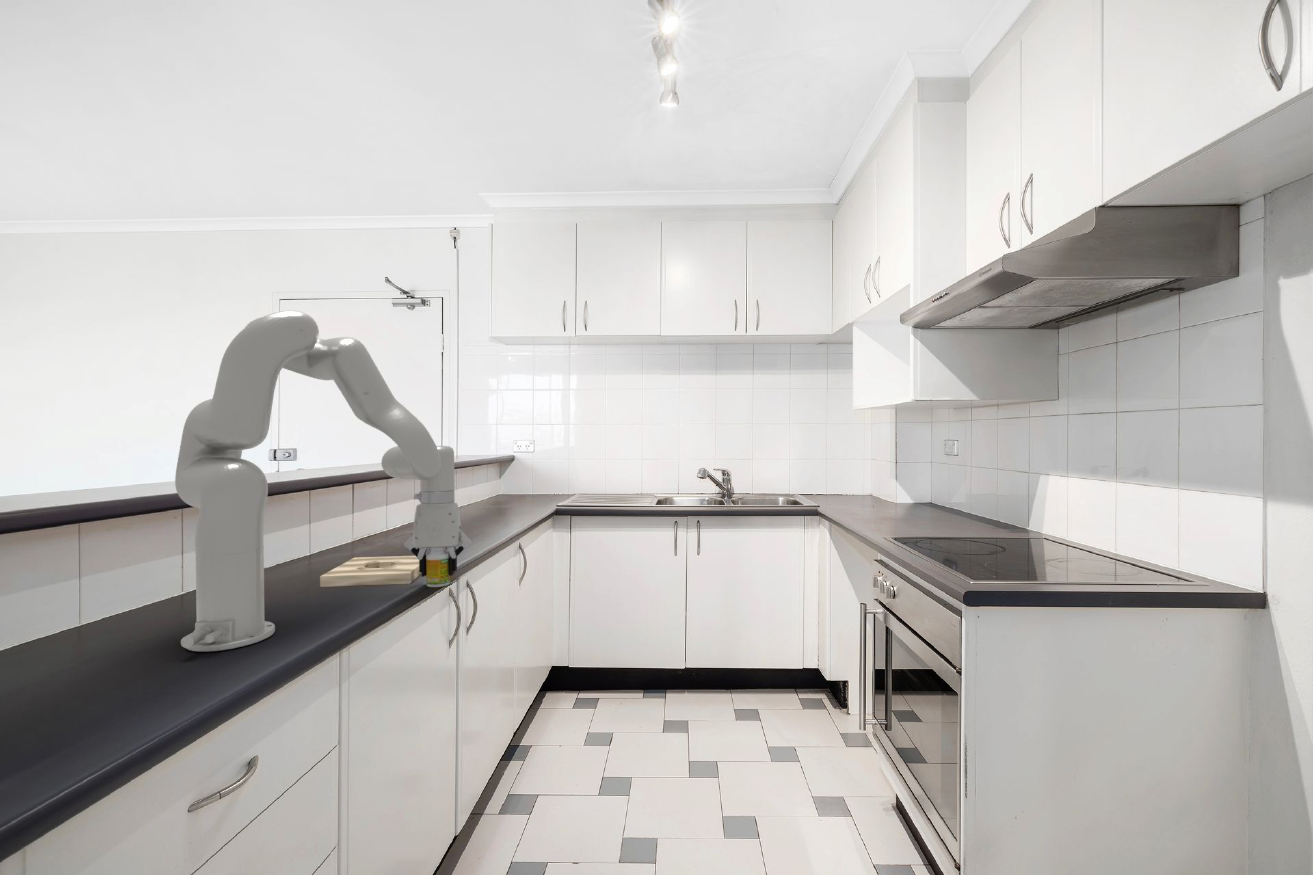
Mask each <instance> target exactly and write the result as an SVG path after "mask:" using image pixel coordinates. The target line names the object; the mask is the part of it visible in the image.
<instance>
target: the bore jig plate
mask: <svg viewBox="0 0 1313 875" xmlns="http://www.w3.org/2000/svg"><path fill="white" fill-rule="evenodd" d="M420 575H422V572H419V559H418V558H417V557H416V556H415V555H401V556H399V555H398V556H397V555H396V556H394V555H392V556H368V557H367V556H366V557H365V556H362V557H361V556H360V557H353V558H350V559H349V560H347V561H346V562H344V563H342V564H340V565H338V566H337V567H335V568H333V569H331V570H329V571H327V572H325V573H323V574H322V575H320V576H319V579H320V580H319V586H320V587H321V588H326V587H327V588H328V587H330V588H331V587H355V586H356V587H357V586H379V585H381V586H382V585H383V586H384V585H406V584H408V585H410V584H411V583H413V582H414V580H416V579H417V578H418V577H419V576H420Z"/></svg>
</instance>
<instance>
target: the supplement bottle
mask: <svg viewBox="0 0 1313 875" xmlns="http://www.w3.org/2000/svg"><path fill="white" fill-rule="evenodd" d="M428 550H429V552H428V553H426V576H425V584H426V586H427V588H428V587H429V588H443V587H446V586H448V585H450V584H451V577H452V576H450V575H449V559H450V553H449V551H447V550H448V547H444V548H428Z"/></svg>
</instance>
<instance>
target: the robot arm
mask: <svg viewBox="0 0 1313 875" xmlns="http://www.w3.org/2000/svg"><path fill="white" fill-rule="evenodd" d="M319 332H320V330H319V326H318V324H317V322H316V321H315V319H314V318H313V317H311V315H309V314H307V313H305V312H302V311H298V310H283V311H278V312H273V313H270V314H267V315H264V316H261V317H258V318H256V319H253V320H252V321H250V322H249V323H247V324H246V326H245V327H244V328H243V329H242V330H240V332H238V334H236V335H235V337H234V338H233V339H232V340H231V341H230V343H229V345H228V346H227V348H226V350H225V351H224V353H223V355H222V359H221V362H220V366H219V369H218V374H217V378H216V382H215V387H214V390H213V391H214V392H213V395H212V398H210V399H207V400H204V401H201V402H200V403H198V404H197V405H196V406H194V407H193V408H192V409H191V411H190V412H189V413H188V415H187V417H186V420H185V423H184V425H183V429H182V435H181V440H180V445H179V450H178V451H179V452H178V456H177V462H176V463H177V464H176V470H175V479H174V483H175V484H174V485H175V490H176V493H177V495H178V497H179V498H180V499H181V500H182V501H183V502H184V503H185V504H187V505H189V506H191V507H193V508H195V509H199V512H198V516H197V521H196V522H197V523H196V528H195V536H194V537H195V539H194V547H195V550H194V554H195V585H196V586H195V591H196V592H195V595H196V596H195V597H196V598H195V600H196V601H195V603H196V604H195V605H196V607H195V608H196V622H195V623H194V630H193V632H191V633H189V634H187V635H185V636H183V637H182V639H181V640H180V645H181V647H183V648H184V649H186V650H188V651H192V652H200V653H201V652H206V653H208V652H209V653H210V652H219V651H226V650H232V649H237V648H241V647H245V646H250V645H252V644H255V643H258V642H261V641H263V640H265V639H268V638H269V637H271V636H272V635H274V633H275V632H276V625H275V624H274V623H273V622H271V621H267V620H265V560H264V559H265V557H264V556H265V554H264V550H265V549H264V526H265V525H264V522H265V513H266V507H267V502H268V494H269V485H268V480H267V477H266V475H265V473H264V472H263V470H262V469H261V468H260V467H259V466H258V465H257V464H255V463H253V462H251V461H249V460H247V459H244V458H242V453H243V451H245V450H249V449H250V450H251V449H254V448H256V447H258V446H260V445H261V444H262V443H263V442H264V441H265V440H266V439H267V435H268V433H269V430H270V429H269V428H270V425H271V424H270V422H271V418H272V417H271V415H272V408H273V403H274V395H275V390H276V385H277V382H278V378H279V376H280V373H281V371H282V369H284V370H287V371H290V372H293V373H297V374H299V375H302V376H305V377H309V378H313V379H316V380H322V381H334V384H335V385H336V386H337V388H338V390H339V391H340V392H341V394H342V397H344V398H343V399H345V401H346V403H347V404H348V406H349V408H350V409H351V411H352V413H353V414H354V416H355V417H356V418H357V419H359V420H360V421H361V422H362V423H364V424H366V425H368V426H370V427H372V428H374V429H376V430H378V431H380V432H382V433H383V434H384V435H386V437H388V438H390V439H391V440H392V442H394V443H395V444H396V445H397V446H393V447H391V448H389V449H388V450H387V451H385V453H384V454H383V456H382V458H381V461H380V462H381V468H382V470H383V471H384V472H385V474H386V475H388V476H389V477H392V478H395V479H400V480H416V481H419V482H420V485H419V486H420V488H419V490H420V491H419V492H417V493H414V495H413V499H414V500H418V501H419V504H417V505H416V508H415V512H414V521H413V532H412V533H413V534H411V536H410V537H409V538H408V539H407V540H406V541H405V542H404V543H403V546H404V547H405V548H406V549H408V550H409V551H410V552H411V553H412V554H413V556H416V557H417V558H418V559H419V572H422V573H421V577H422V578H423V577H426V555H427V554H428V553H427V552H428V550H429V548H444V547H447V550H448V552H449V553H450V559H449V575H450V576H451V577H452V576H453V575H455V573H456V572H457V570H458V556H459V555H460V554H461V553H462V552H463V551H464V550H465V549H466V548H468V547H469V545H471V543H472V540H471V539H470V538H469V537H468V535H467V534H466V533H464V531H463V530H462V524H461V516H460V509H459V505H458V503H457V502H455V499H456V497H455V493H456V492H455V451H454V448H453V447H452V446H448V445H436V443H435V441H434V439H433V437H432V435H431V434H430V432H429V431H428V429H427V428H426V427H425V425H424V424H423V423H422V422H421V421H420V420H419V419H418V418H417V416H415V415H414V414H413V413H412V412H411V411H410V410H409V409H408V408H406V407H405V406H404V405H403V404H401V403H400V402H399V401H398V400H397V399H396V398H395V396H394V394H393V393H392V391H391V389H390V388H389V386H388V384H387V382H386V381H385V379H384V377H383V375H382V374H381V372H380V370H379V368H378V367H377V364H376V363H375V361H374V360H373V358H372V356H371V354H370V352H369V351H368V349H367V348H366V346H365V345H364V344H363V343H362V342H361V341H360V340H357V338H354V337H349V336H348V337H347V336H346V337H345V336H343V337H341V336H340V337H333V338H328V339H327V338H326V339H323V338H319V336H320V335H319ZM461 541H462V544H460V545H459V546H457V545H458V544H459V543H460V542H461Z"/></svg>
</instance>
